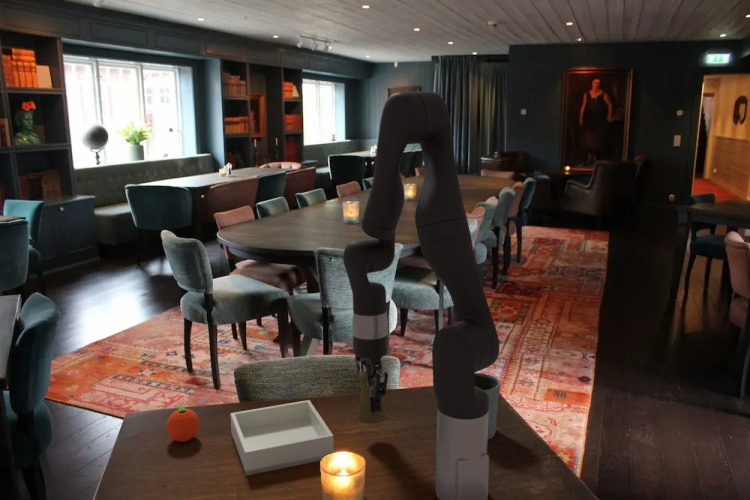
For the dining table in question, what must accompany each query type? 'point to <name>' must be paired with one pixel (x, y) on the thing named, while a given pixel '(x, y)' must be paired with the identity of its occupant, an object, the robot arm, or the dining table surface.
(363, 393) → the olive pepper mill
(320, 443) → the serving bin
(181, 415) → the clementine
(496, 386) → the grey round pot
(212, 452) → the dining table surface
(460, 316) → the robot arm
